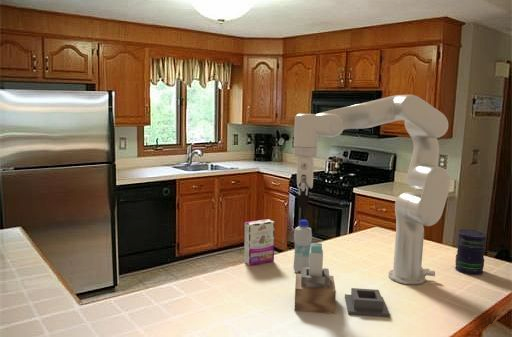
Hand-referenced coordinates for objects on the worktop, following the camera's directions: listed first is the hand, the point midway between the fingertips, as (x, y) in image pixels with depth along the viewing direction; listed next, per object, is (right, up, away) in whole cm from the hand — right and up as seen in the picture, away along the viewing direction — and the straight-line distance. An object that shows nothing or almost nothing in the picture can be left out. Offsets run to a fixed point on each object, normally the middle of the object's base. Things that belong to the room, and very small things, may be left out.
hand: (303, 204), depth 142 cm
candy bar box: (-14, -26, +29) cm, 41 cm away
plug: (+3, -24, -7) cm, 25 cm away
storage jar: (+67, -28, +25) cm, 76 cm away
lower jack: (+19, -31, -8) cm, 37 cm away
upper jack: (+3, -31, -6) cm, 31 cm away
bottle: (+2, -27, +20) cm, 34 cm away
